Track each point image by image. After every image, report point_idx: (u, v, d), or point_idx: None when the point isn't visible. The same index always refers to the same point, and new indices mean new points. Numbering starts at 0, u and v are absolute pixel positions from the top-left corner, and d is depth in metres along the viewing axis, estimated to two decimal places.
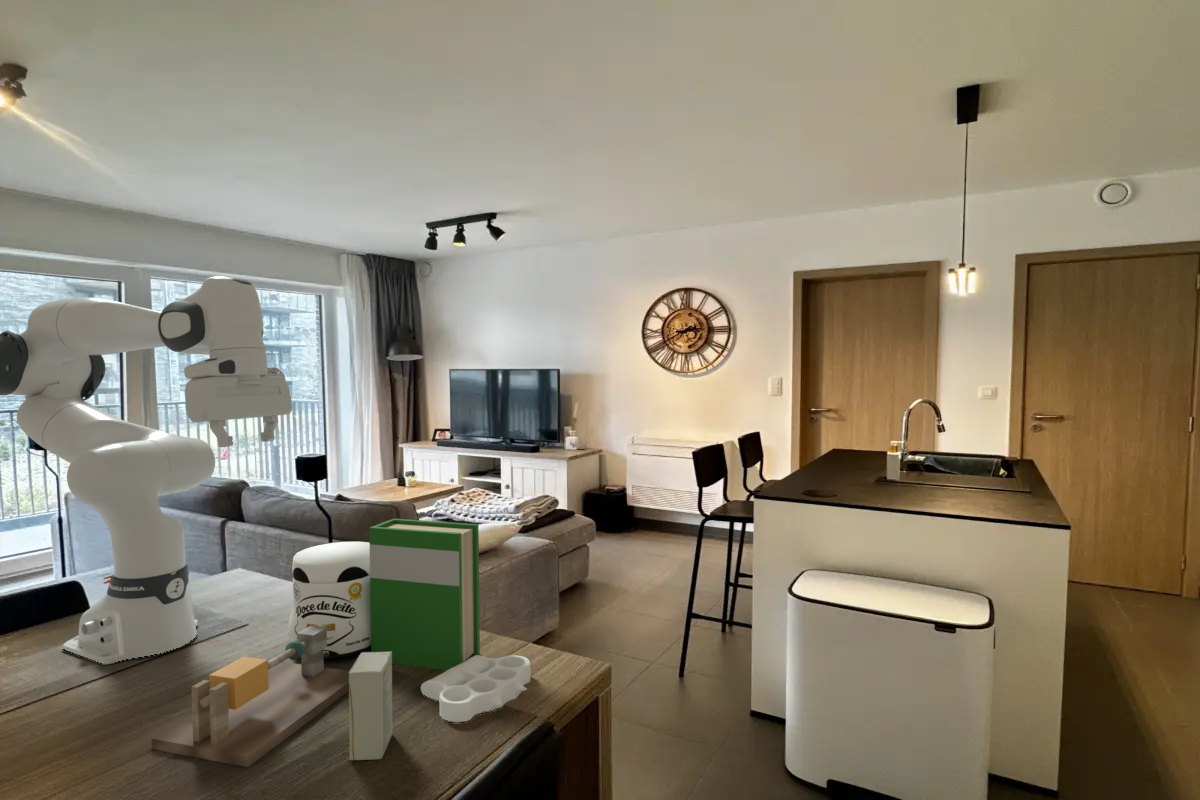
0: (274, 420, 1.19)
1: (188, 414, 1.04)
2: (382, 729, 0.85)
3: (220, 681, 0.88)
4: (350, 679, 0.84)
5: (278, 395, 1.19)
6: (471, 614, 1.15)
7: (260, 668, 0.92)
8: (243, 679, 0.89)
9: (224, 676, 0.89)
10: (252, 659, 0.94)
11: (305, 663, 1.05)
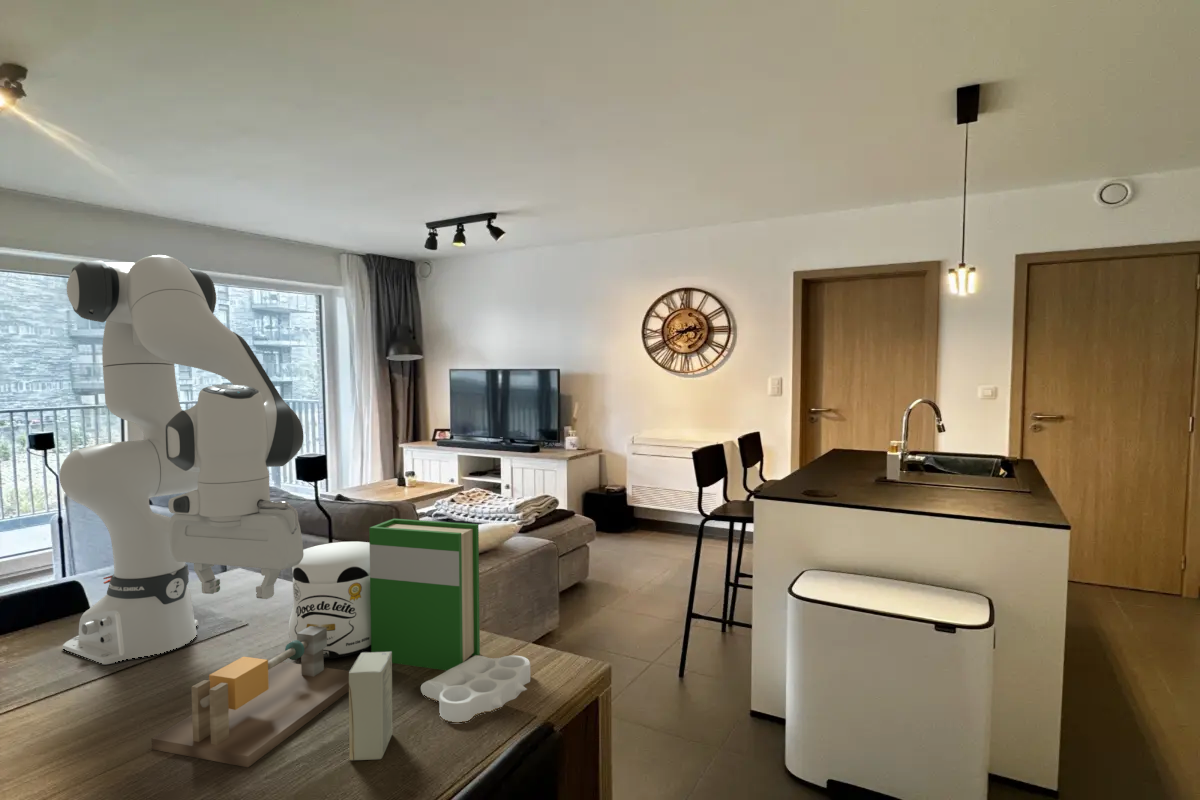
0: (264, 574, 0.88)
1: None
2: (382, 729, 0.85)
3: (220, 681, 0.88)
4: (350, 679, 0.84)
5: (264, 542, 0.87)
6: (471, 614, 1.15)
7: (260, 668, 0.92)
8: (243, 679, 0.89)
9: (224, 676, 0.89)
10: (252, 659, 0.94)
11: (305, 663, 1.05)
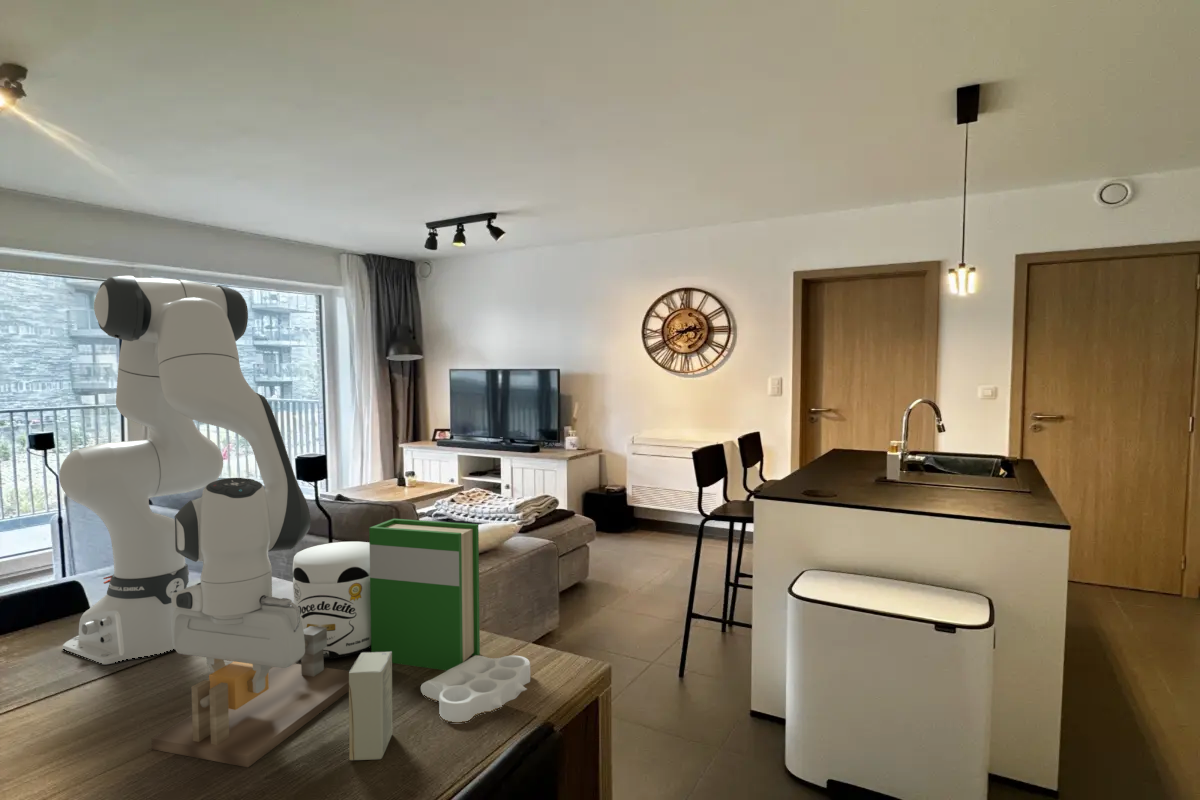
0: (255, 669, 0.89)
1: None
2: (382, 729, 0.85)
3: (220, 681, 0.88)
4: (350, 679, 0.84)
5: (266, 641, 0.88)
6: (471, 614, 1.15)
7: None
8: (243, 679, 0.89)
9: (224, 676, 0.89)
10: None
11: (305, 663, 1.05)
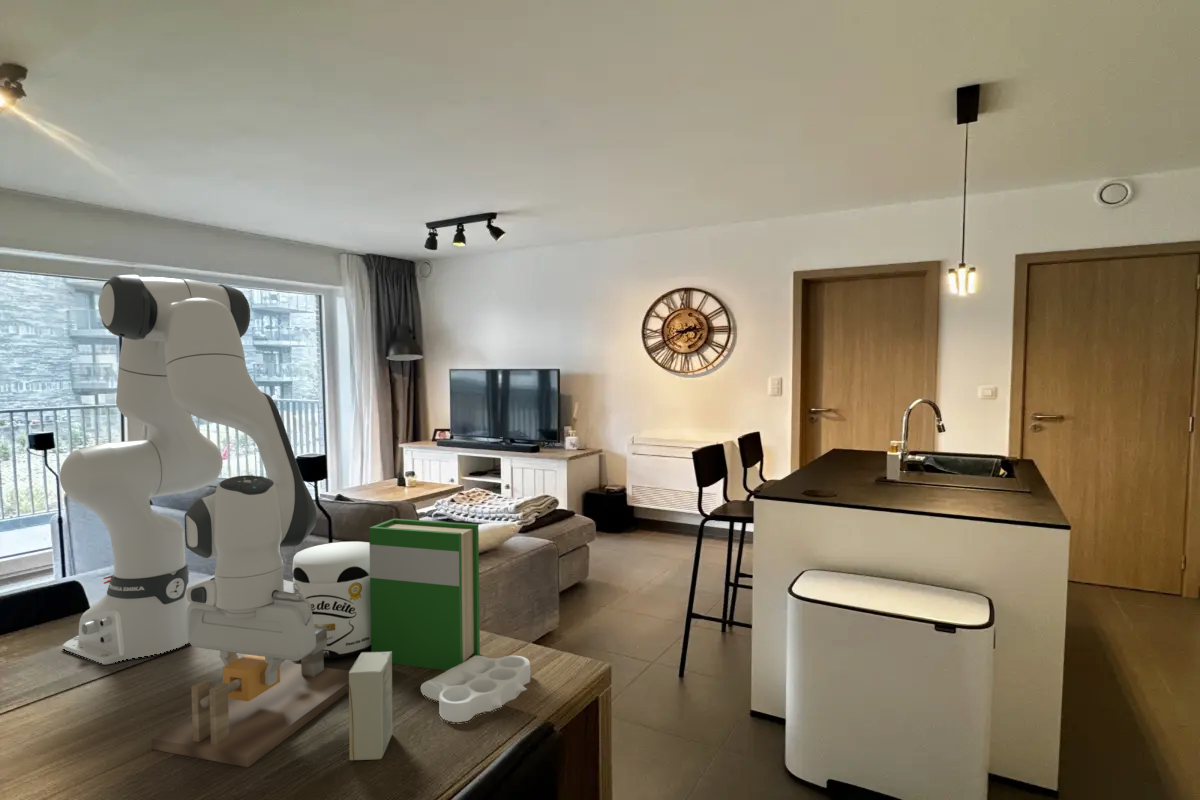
0: (268, 662, 0.91)
1: None
2: (382, 729, 0.85)
3: (233, 673, 0.91)
4: (350, 679, 0.84)
5: (278, 634, 0.90)
6: (471, 614, 1.15)
7: None
8: (255, 672, 0.91)
9: (237, 668, 0.91)
10: None
11: (305, 663, 1.05)
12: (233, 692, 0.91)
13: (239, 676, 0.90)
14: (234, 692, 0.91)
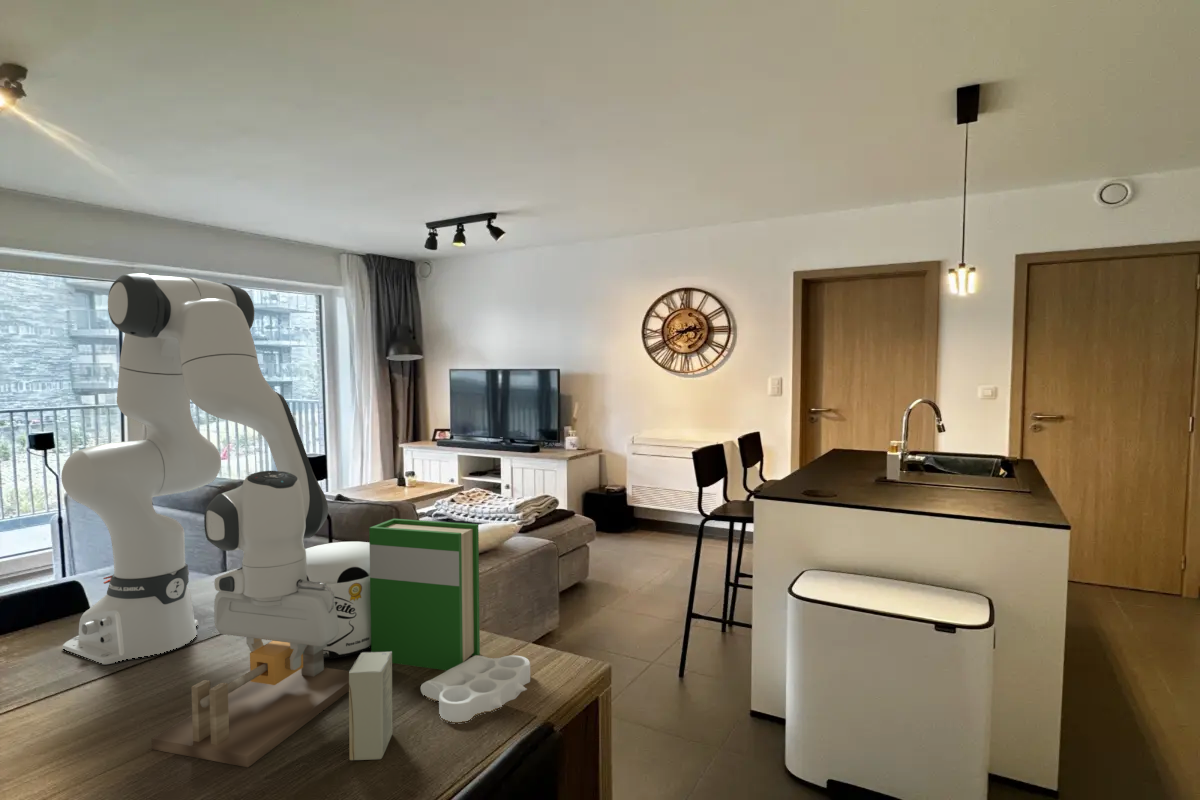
0: (293, 647, 0.96)
1: None
2: (382, 729, 0.85)
3: (260, 658, 0.95)
4: (350, 679, 0.84)
5: (303, 621, 0.95)
6: (471, 614, 1.15)
7: None
8: (281, 657, 0.96)
9: (264, 654, 0.96)
10: None
11: (305, 663, 1.05)
12: (260, 676, 0.96)
13: (266, 661, 0.95)
14: (260, 676, 0.96)
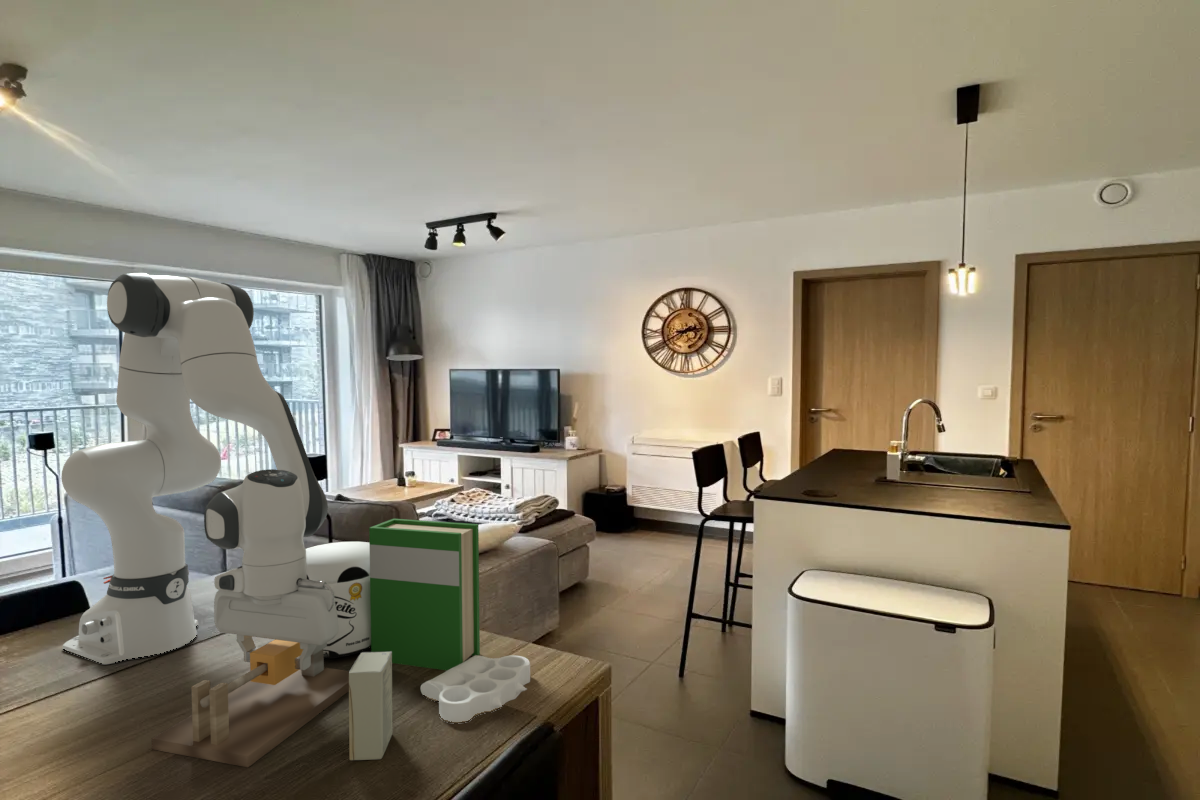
0: (302, 647, 0.96)
1: None
2: (382, 729, 0.85)
3: (260, 658, 0.95)
4: (350, 679, 0.84)
5: (303, 620, 0.95)
6: (471, 614, 1.15)
7: (296, 647, 0.99)
8: (281, 657, 0.96)
9: (264, 654, 0.96)
10: None
11: None
12: (260, 676, 0.96)
13: (266, 661, 0.95)
14: (260, 676, 0.96)
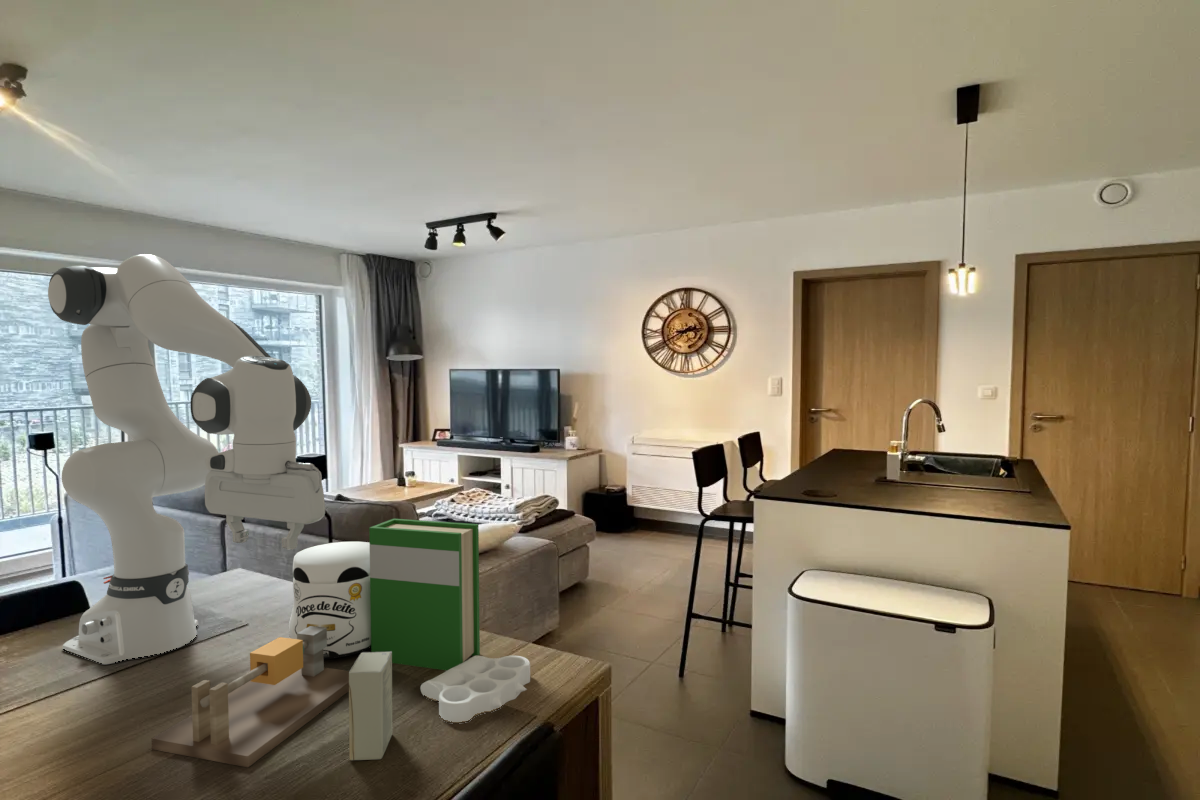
0: (290, 527, 0.99)
1: None
2: (382, 729, 0.85)
3: (260, 658, 0.95)
4: (350, 679, 0.84)
5: (291, 499, 0.97)
6: (471, 614, 1.15)
7: (296, 647, 0.99)
8: (281, 657, 0.96)
9: (264, 654, 0.96)
10: (288, 639, 1.01)
11: (305, 663, 1.05)
12: (260, 676, 0.96)
13: (266, 661, 0.95)
14: (260, 676, 0.96)
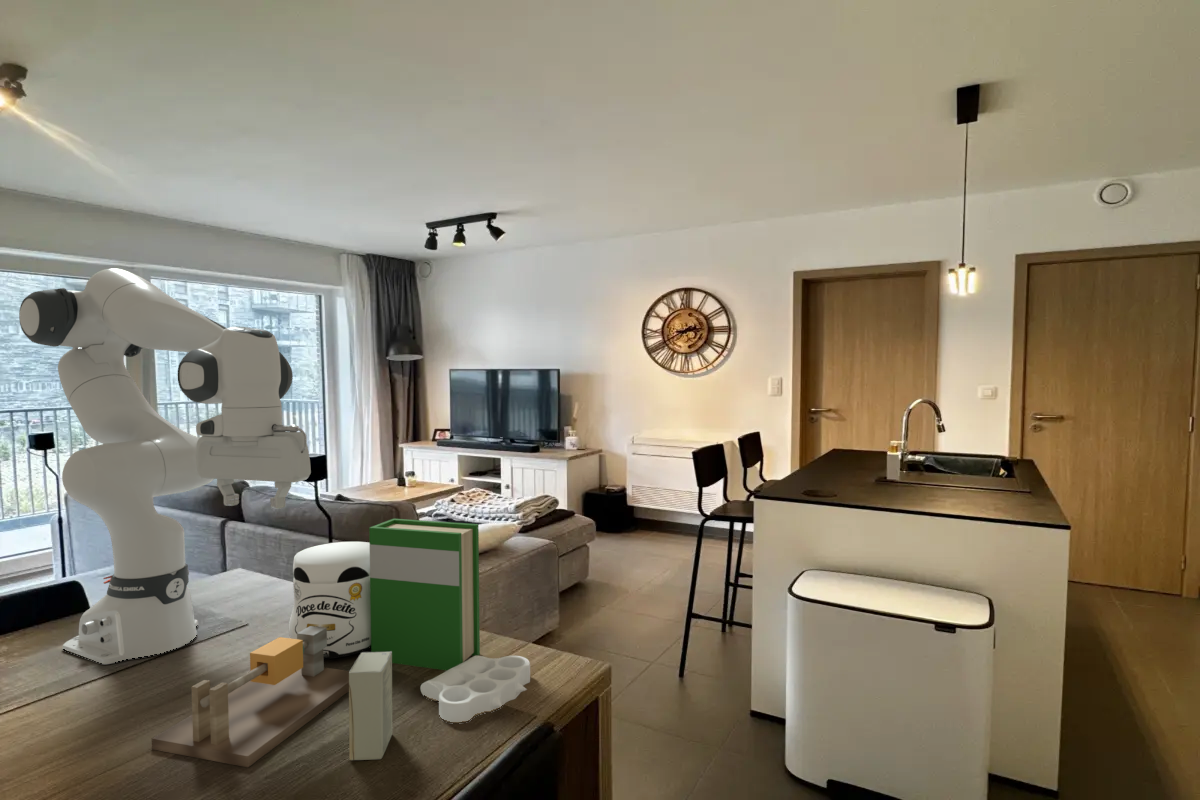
0: (277, 486, 1.04)
1: None
2: (382, 729, 0.85)
3: (260, 658, 0.95)
4: (350, 679, 0.84)
5: (277, 459, 1.03)
6: (471, 614, 1.15)
7: (296, 647, 0.99)
8: (281, 657, 0.96)
9: (264, 654, 0.96)
10: (288, 639, 1.01)
11: (305, 663, 1.05)
12: (260, 676, 0.96)
13: (266, 661, 0.95)
14: (260, 676, 0.96)
